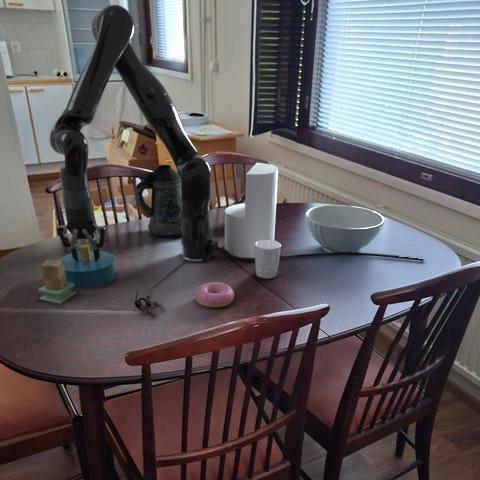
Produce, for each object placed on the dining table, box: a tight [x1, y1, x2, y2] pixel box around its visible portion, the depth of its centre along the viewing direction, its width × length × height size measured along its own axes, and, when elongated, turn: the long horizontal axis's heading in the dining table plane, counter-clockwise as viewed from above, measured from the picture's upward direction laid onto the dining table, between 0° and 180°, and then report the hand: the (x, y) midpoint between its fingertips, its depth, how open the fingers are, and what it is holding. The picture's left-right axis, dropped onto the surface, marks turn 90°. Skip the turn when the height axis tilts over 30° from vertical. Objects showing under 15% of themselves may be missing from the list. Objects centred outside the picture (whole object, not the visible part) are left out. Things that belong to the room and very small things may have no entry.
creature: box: [133, 290, 164, 318], centre depth 127 cm, size 8×5×8 cm
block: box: [40, 259, 67, 290], centre depth 131 cm, size 4×4×7 cm
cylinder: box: [224, 162, 279, 258], centre depth 162 cm, size 17×17×28 cm
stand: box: [38, 282, 77, 304], centre depth 133 cm, size 7×7×4 cm
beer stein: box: [134, 164, 182, 241], centre depth 174 cm, size 16×19×25 cm
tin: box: [65, 263, 116, 290], centre depth 144 cm, size 15×15×6 cm
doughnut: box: [194, 281, 235, 309], centre depth 133 cm, size 11×11×4 cm
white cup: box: [254, 239, 282, 279], centre depth 148 cm, size 8×8×10 cm
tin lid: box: [58, 243, 115, 273], centre depth 141 cm, size 16×16×6 cm
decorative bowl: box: [304, 204, 385, 253], centre depth 168 cm, size 27×27×12 cm
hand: (86, 259), depth 142 cm, fingers open, 5 cm apart
